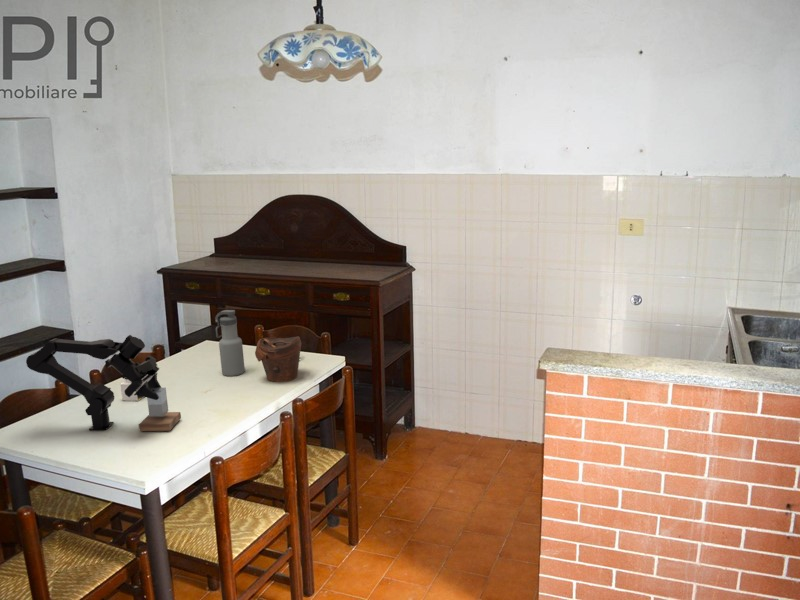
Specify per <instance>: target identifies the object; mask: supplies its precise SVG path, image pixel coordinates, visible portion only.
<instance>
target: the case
mask: <svg viewBox="0 0 800 600" xmlns="http://www.w3.org/2000/svg"><path fill="white" fill-rule="evenodd" d="M255 347H256V348H255V351H254V354H255V357H256V359H257V361H258V362H262V366H263V370H264V372H265V376H266V379H267V380H268V381H270V382H276V383H277V382H280V383H281V382H289V381H292V380H294V379H296V378H297V377H298V373H299V364H300V359H301V358H300V356H301V350H302V341H301V338H300V336H291V337H285V338H282V337H263V338H260V339H259V340H258V341H257V344H256V346H255Z"/></svg>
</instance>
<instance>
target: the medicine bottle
mask: <svg viewBox="0 0 800 600" xmlns="http://www.w3.org/2000/svg"><path fill="white" fill-rule="evenodd" d="M144 383H145V382H144ZM130 384H131V382H130V381H129V380H128V379H127V378H126V377H125V378H124V381H123V382H121V383H120V384H119V385H120V391H121V398H122V399H121V400H122V401H129V402H131V401H132V402H139V401H140V400H142V399H143V398H144V397H143V396H138V395H134V394H135V393H136V392H134V393H133V395H132V396H130V397H128V396H127V395H125V390H126V388H127V387H128V386H129V385H130Z"/></svg>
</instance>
